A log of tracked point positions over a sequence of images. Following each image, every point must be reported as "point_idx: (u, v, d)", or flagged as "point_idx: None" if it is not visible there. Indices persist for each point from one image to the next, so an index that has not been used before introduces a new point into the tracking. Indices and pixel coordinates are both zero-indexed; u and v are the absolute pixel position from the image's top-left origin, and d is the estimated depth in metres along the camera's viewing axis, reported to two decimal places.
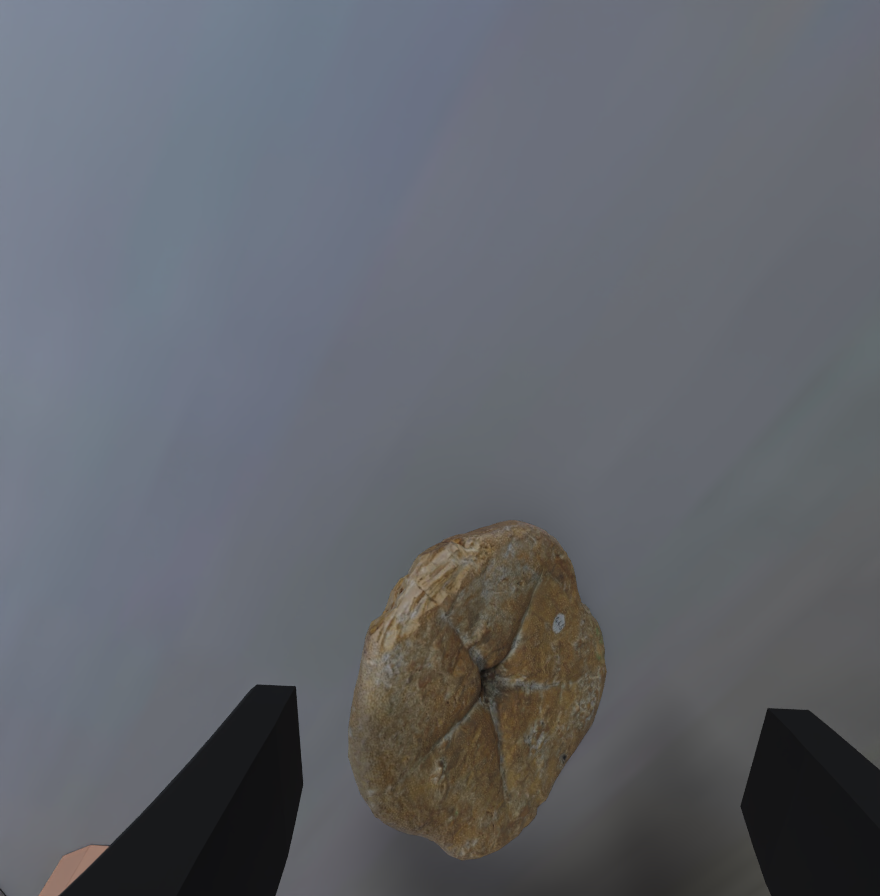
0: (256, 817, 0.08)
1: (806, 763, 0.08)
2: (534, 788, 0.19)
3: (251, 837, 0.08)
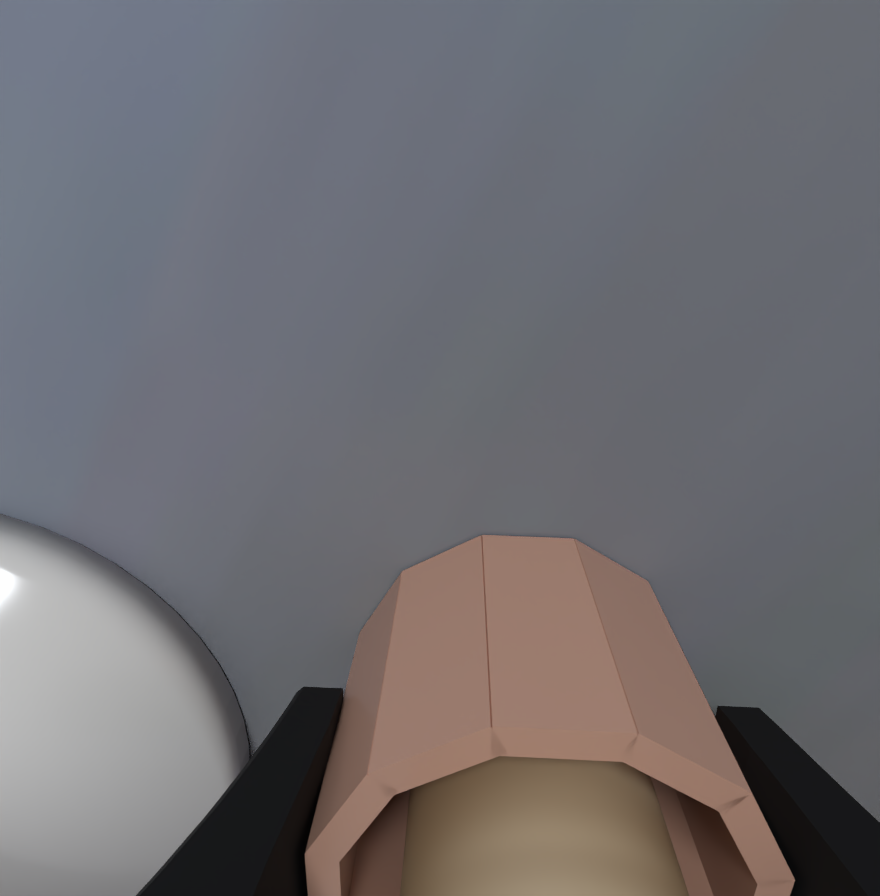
0: (312, 820, 0.08)
1: (750, 760, 0.08)
2: None
3: None
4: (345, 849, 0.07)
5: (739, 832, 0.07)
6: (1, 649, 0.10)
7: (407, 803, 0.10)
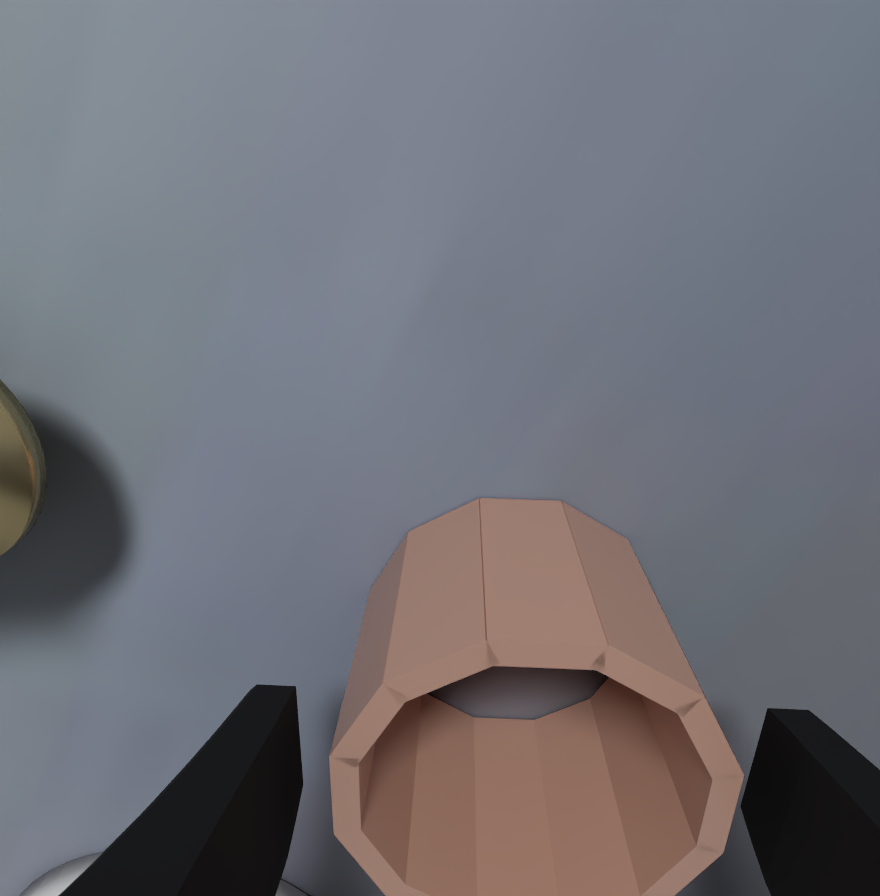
0: (256, 817, 0.08)
1: (806, 763, 0.08)
2: None
3: (251, 838, 0.08)
4: (363, 751, 0.08)
5: (696, 732, 0.08)
6: None
7: (414, 738, 0.12)
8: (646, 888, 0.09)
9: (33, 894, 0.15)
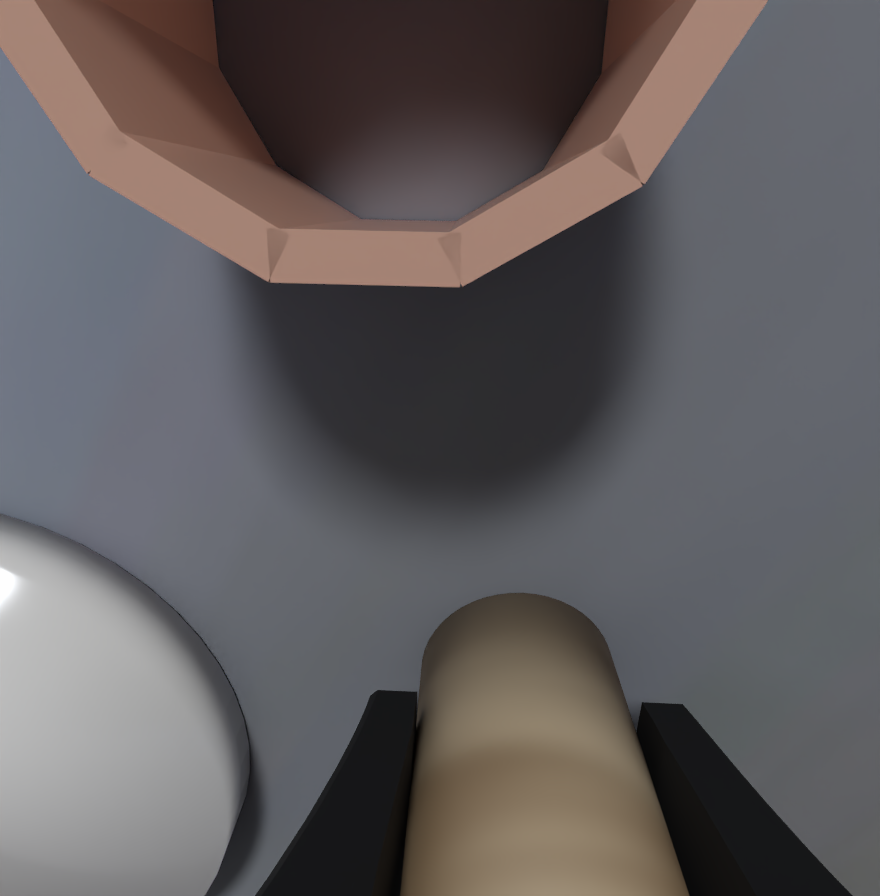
0: (400, 824, 0.08)
1: (665, 756, 0.08)
2: None
3: (397, 845, 0.08)
4: None
5: None
6: (1, 649, 0.10)
7: (234, 146, 0.07)
8: (620, 116, 0.04)
9: None
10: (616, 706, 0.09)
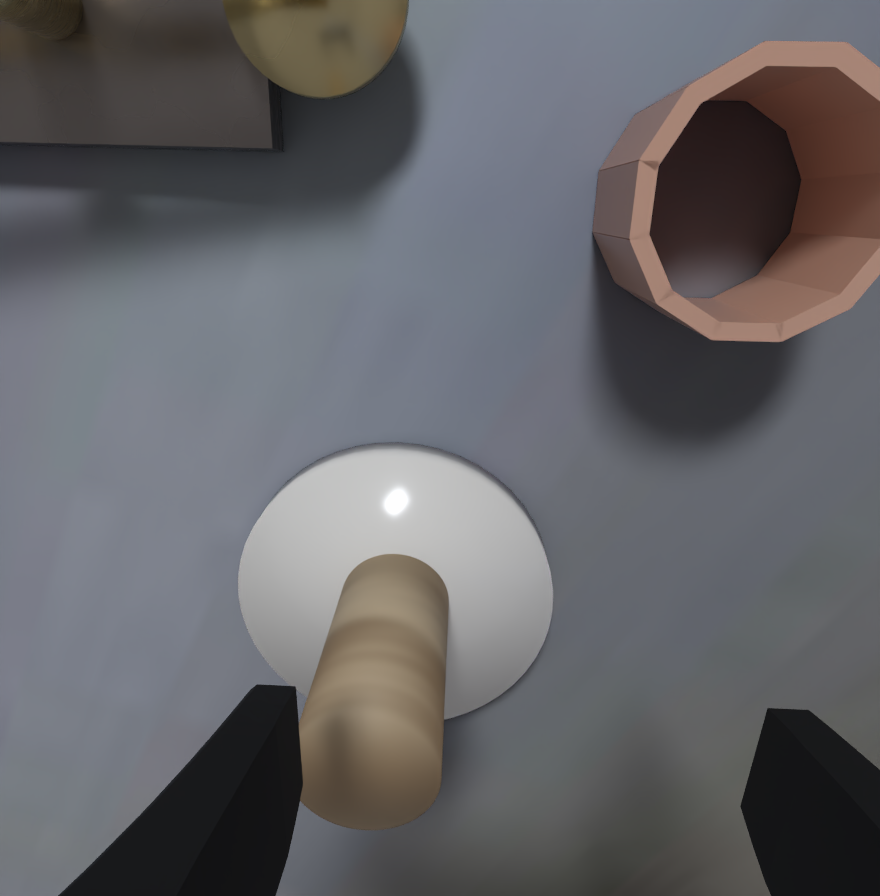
0: (256, 817, 0.08)
1: (806, 763, 0.08)
2: None
3: (251, 837, 0.08)
4: (664, 152, 0.12)
5: None
6: (451, 518, 0.19)
7: None
8: (844, 286, 0.13)
9: (295, 477, 0.19)
10: (430, 608, 0.17)
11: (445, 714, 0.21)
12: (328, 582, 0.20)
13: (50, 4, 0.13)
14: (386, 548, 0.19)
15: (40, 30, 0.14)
